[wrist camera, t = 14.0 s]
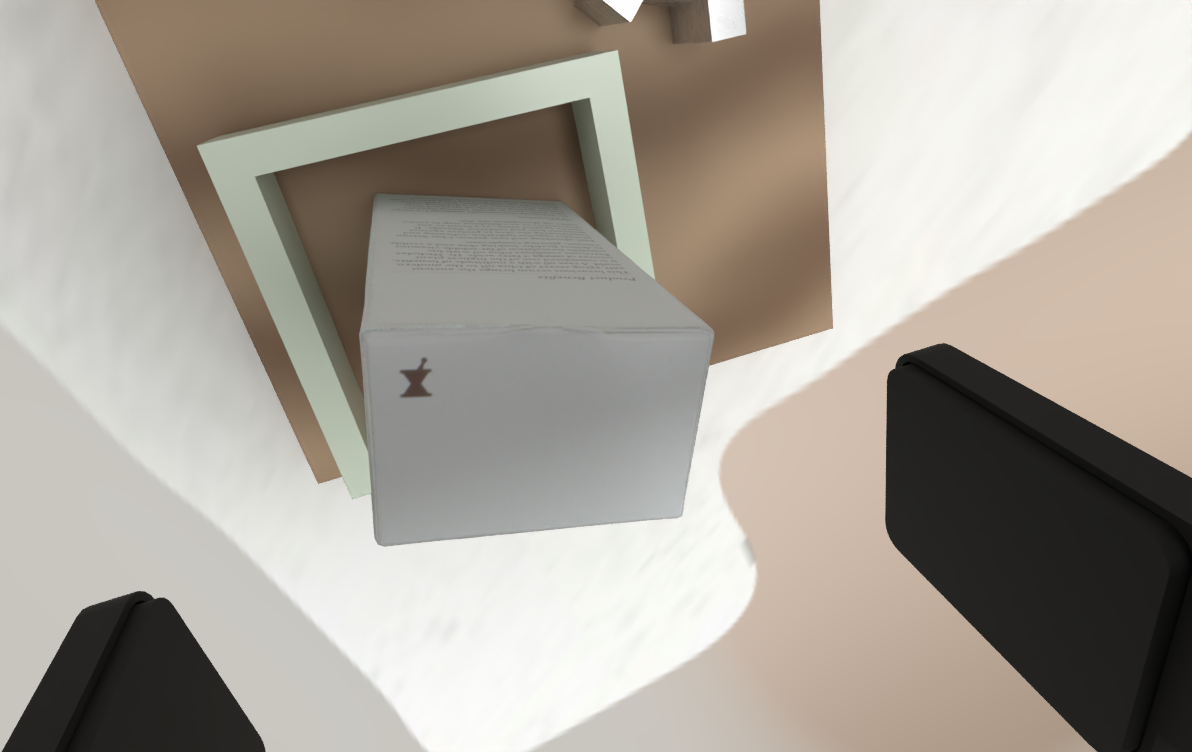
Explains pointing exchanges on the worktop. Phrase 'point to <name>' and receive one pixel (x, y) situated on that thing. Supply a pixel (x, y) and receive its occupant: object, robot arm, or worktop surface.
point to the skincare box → (520, 373)
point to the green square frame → (259, 152)
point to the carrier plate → (505, 145)
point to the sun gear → (676, 17)
